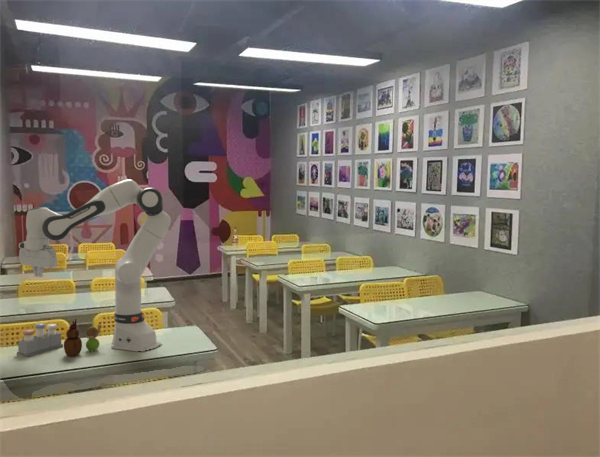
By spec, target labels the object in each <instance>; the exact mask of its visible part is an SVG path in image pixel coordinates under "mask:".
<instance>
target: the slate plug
mask: <svg viewBox="0 0 600 457" xmlns="http://www.w3.org/2000/svg"><path fill="white" fill-rule="evenodd" d="M45 327H46V323H45V322H37V323H35V324H34V328H35V336H36V338H39V339H40V338H43V337H45V333H46V332H45Z"/></svg>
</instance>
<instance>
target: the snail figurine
mask: <svg viewBox="0 0 600 457" xmlns="http://www.w3.org/2000/svg"><path fill="white" fill-rule="evenodd" d="M101 323H102V322H101V321H99V324H98V325H97V328H96V327H95V326H90V327H89V328H87V329H86V335H87V336H86V338H87V339H88V340H87V341H86V343H85V347H86V349H87V350H88V351H90V352H94V351H96V350H98V349H99V346H100V341H99V339H98V338H97V337H98V336H99V334H100V333H101V327H102V324H101Z"/></svg>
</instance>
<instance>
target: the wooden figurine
mask: <svg viewBox="0 0 600 457" xmlns="http://www.w3.org/2000/svg"><path fill="white" fill-rule="evenodd" d="M77 327H78V325H77V318H74V320H72V323H71V324H70V326H69V327H68V329H67V331H66V334H65V335H66V338H65V340H64V341H63V350H64V353H65V355H66V356H67V357H76V356H78V355H80V353H81V351H82V348H83V341H82V339H81V337H79V335H80V329H78V328H77Z"/></svg>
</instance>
